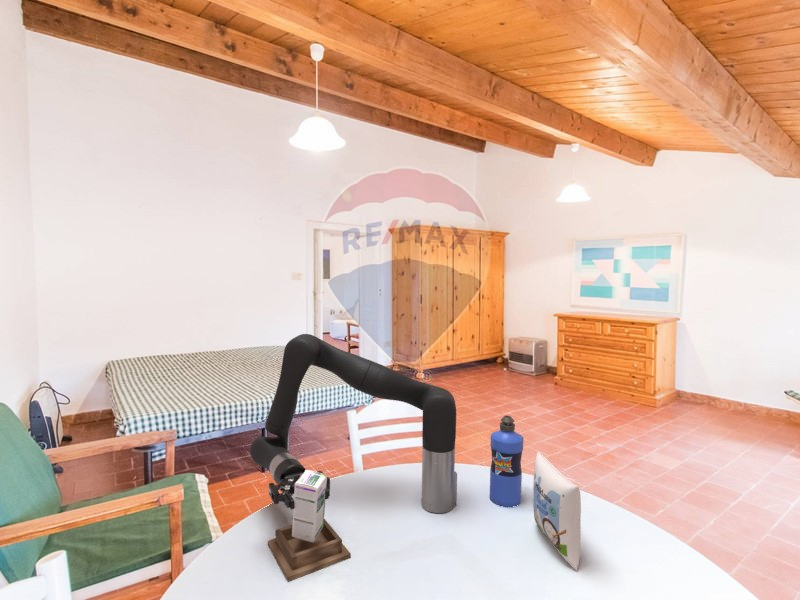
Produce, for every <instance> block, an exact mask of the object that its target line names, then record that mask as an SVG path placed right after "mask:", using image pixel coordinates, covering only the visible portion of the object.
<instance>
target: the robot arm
mask: <svg viewBox="0 0 800 600" xmlns="http://www.w3.org/2000/svg"><path fill="white" fill-rule="evenodd" d="M311 366H314V367H317V368H320V369H323V370H326V371H328V372H331V373H332V374H334V375H336V376H337V377H338V378H340V380H342V381H343V382H344V383H346V384H347V385H348V386H349V387H351V388H353V389H354V390H357V391H358V392H361V393H364V394H366V395H368V396H370V397H373V398H377V399H382V400H387V401H388V400H389V401H395V402H396V401H397V402H403V403H405V404H408V405H411V406H413V407H414V408H417V409H418V410H421V411H422V431H421V432H422V433H421V435H422V436H421V437H422V440H421V441H422V443H421V444H422V450H421V451H422V454H421V455H422V457H421V460H422V461H421V506H422V509H424V510H425V511H427V512H430V513H434V514H443V513H444V514H445V513H449V512H450V511H452V510H453V509H454V507H456V506H457V500H458V499H457V495H458V494H457V493H458V492H457V489H458V488H457V486H458V472H456V471H455V463H456V462H455V461H456V460H455V459H456V457H455V455H456V439H457V438H456V437H457V432H456V431H457V405H456V400H455V398H454V396H453V394H452V393H451V392H450V391H449V390H447V389H445V388H443V387H440V386H436V385H432V384H431V383H425V382H422V381H420V380H416V379H414V378H411V377H409V376H407V375H405V374H403V373H402V372H398V371H397V370H395V369H391V368H389V367H387V366H386V365H383V364H380V363H378V362H375V361H373V360H371V359H367V358H364V357H363V356H360V355H357V354H354V353H351V352H349V351H345V350H344V349H341V348H338V347H336V346H334V345H332V344H330V343H328V342H326V341H325V340H323V339H320V338H319V337H318V336H315V335H313V334H311V333H310V334H309V333H302V334H299V335H297V336H295V337H293V338H292V339H290V340H289V341H288V342H287V343H286V345H285V346H284V350H283V356H282V364H281V369H280V374H279V378H278V379H279V380H278V383H277V388H276V391H275V394H274V396H273V400H272V403H271V406H270V408H269V412H268V415H267V417H266V421H265V424H264V427H265V430H266V431H267V432H268V433H269V434H272V435H275V436H276V437H275V436H257V438H255V439H254V440H253V441H252V443H251V444H250V448H249V453H250V456H251V459H252V461H253V462H254V463H256V464H257V465H258V466H260V467H262V468H264V469H266V470H268V472H269V474H271V478H272V480H274V482H269V483H268V495H269V497H270V499H271V500H272V503H273V504H274V505H278V504H280V502H281V503H282V504H284V505H285V506H286V508H288V509H290V510H293V509H294V497H293V496H294V490H295V483H296V482H297V480H298V479H299V478H300V476H301V475H302V474H303V473H304V472H305V470H307V469H306V468H305V466H304V465H303V464H302V463H301V462H300V461H299V460H298V458H296V457H295V456H294V455H293V454H292V453H290V451H289V450H288V448H289V434H290V428H291V425H292V421H293V419H294V416H295V413H296V409H297V404H298V395H299V391H300V388H301V385H302V381H303V379H304V377H305V375H306V374H307V371H309V368H310V367H311ZM316 472H319V473H323V474H325V473H324V472H323V471H321V470H317V471H316ZM275 483H276V484H275ZM279 491H281V492H279ZM330 491H331V478H330V477H329V476H327V484H326V498H325V500H328V499H330V496H331V492H330Z"/></svg>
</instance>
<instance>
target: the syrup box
mask: <svg viewBox="0 0 800 600" xmlns="http://www.w3.org/2000/svg"><path fill="white" fill-rule="evenodd" d="M323 473H324V472H323ZM323 473H319V472H317V471H315V470H309V469H306V470H305V472H304V473H303V474H302V475H301V476H300V478H299V479H298V480H297V482H296V483H295V490H294V494H293V499H294V509H292V511H293V512H292V524H291V525H292V537H295V538H298V539H301V540H305V541H308V542H312V543H314V541H315V540H316V538H317V536H318V535H319V533H320V531H321V530H322V528H323V524H324V519H325V511H326V510H325V507H326V499H325V498H326V484H327V477H328V475H327V474H326V473H324V474H323Z"/></svg>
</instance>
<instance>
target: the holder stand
mask: <svg viewBox="0 0 800 600" xmlns="http://www.w3.org/2000/svg"><path fill="white" fill-rule="evenodd" d="M267 546H268V549H269V550H270V552H271V553H272V556H273V557H274V559H275V560H276V562H277V564H278V566H279V568H280V570H281V572H282V573H283V575H284V577H285V578H286V581H287V583H288V582H291V581H293V580H296V579H298V578H301V577H305V576H307V575H310V574H311V573H315V572H317V571H320V570H322V569H325V568H327V567H330V566H332V565H334V564H338V563H341V562H343V561H345V560H348V559H351V557H352V554H351V552H350V551H349V549H348V548H347V547H346V546H345V545H344V544H343V539H342V538H341V537H340V536H339V534H338V533H337V532H336V531H335V530H334V528H333V527H332V526H331V524H329V522H328V521H327V520H326V519H325V518H324V524H323V528H322V530H321V531H320V533H319V535H318V536H317V538H316V540H315V541H314V543H312V542H308V541H305V540H301V539H298V538H295V537H292V524H291V525H288V526H284V527H281V528H278V529H275V538H273V539H270V540H267Z"/></svg>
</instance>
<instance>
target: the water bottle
mask: <svg viewBox="0 0 800 600" xmlns="http://www.w3.org/2000/svg"><path fill="white" fill-rule="evenodd" d="M514 422H515V420H514V418H512V416H510V415H504V416H503V417H502V418H501V419H500V423H499V429H500V430H495V431H493V432H491V434H490V450H491V463H490V464H491V465H490V470H489V471H490V472H489V473H490V474H489V500H490V501H492V502H491V503H493V504H494V505H496V506H498V505H499V506H498V507H501V506H503V507H502V508H508V507H511V508H514V507H513V506H516V507H518V506H520V505H521V503H522V481H523V480H522V479H523V476H522V475H523V472H522V471H523V470H522V465H521V464H522V463H521V462H522V455H523V450H524V437H523V436H522V434H520V433H517V432H515V427H516V425H515V423H514ZM520 502H521V503H520ZM519 504H520V505H519ZM517 505H518V506H517Z"/></svg>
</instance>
